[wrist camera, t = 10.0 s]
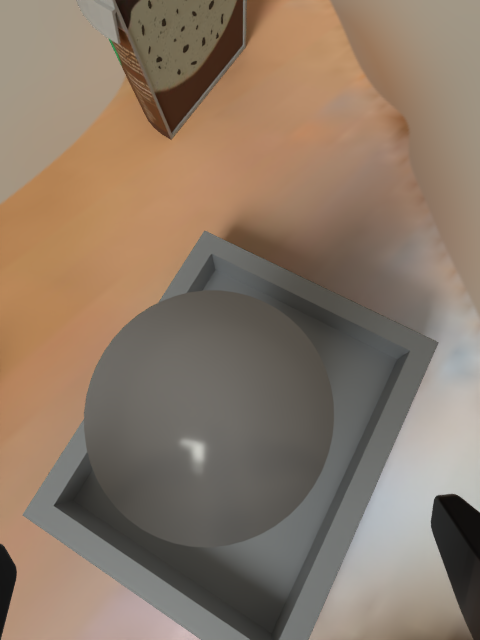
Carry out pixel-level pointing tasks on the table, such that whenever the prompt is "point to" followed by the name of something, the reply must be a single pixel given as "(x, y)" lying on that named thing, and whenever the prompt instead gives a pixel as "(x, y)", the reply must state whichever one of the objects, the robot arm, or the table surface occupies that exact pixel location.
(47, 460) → the table surface
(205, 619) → the charcoal tray
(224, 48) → the food container
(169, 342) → the grey round glossy part
